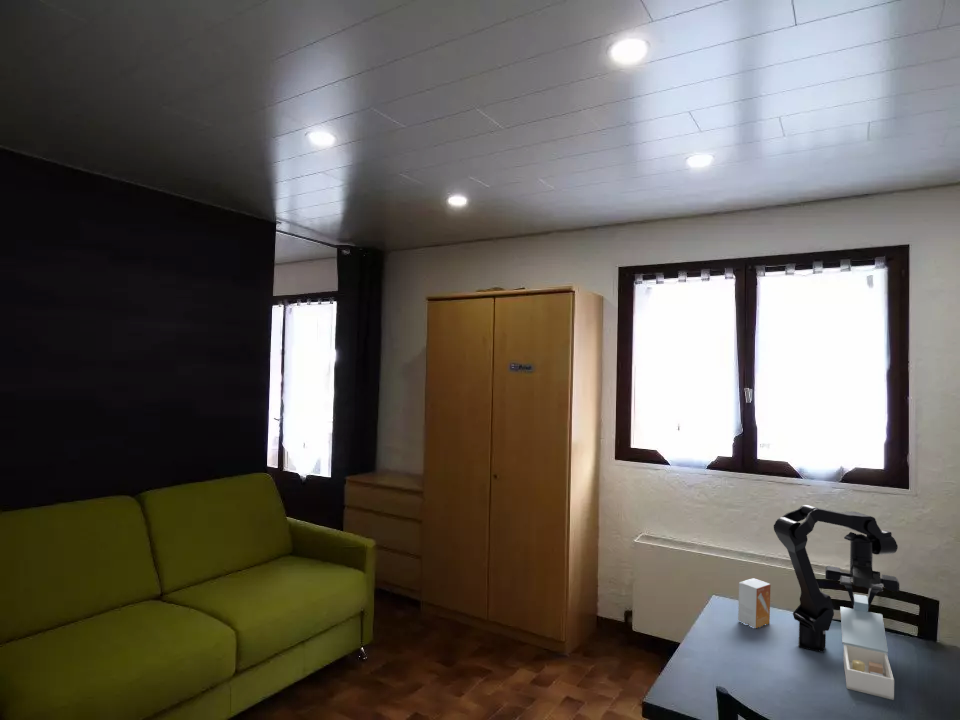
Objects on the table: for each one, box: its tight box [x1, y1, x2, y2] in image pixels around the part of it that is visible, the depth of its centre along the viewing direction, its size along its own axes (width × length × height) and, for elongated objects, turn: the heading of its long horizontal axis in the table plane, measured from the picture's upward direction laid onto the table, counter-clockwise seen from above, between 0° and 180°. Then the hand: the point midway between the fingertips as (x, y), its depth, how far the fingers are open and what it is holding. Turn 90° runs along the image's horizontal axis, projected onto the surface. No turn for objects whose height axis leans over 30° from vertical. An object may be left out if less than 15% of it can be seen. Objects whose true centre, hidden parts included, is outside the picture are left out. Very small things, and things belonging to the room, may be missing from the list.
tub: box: [843, 644, 895, 701], centre depth 157 cm, size 10×16×5 cm, turn 151°
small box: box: [737, 577, 772, 629], centre depth 190 cm, size 8×6×13 cm
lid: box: [839, 593, 889, 655], centre depth 172 cm, size 11×20×4 cm, turn 151°
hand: (860, 606), depth 179 cm, fingers closed on lid, 3 cm apart
